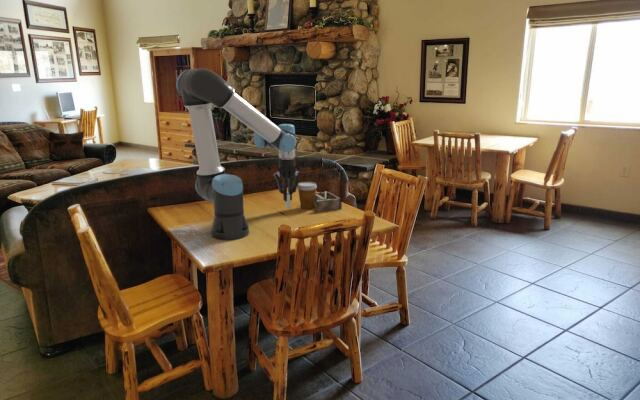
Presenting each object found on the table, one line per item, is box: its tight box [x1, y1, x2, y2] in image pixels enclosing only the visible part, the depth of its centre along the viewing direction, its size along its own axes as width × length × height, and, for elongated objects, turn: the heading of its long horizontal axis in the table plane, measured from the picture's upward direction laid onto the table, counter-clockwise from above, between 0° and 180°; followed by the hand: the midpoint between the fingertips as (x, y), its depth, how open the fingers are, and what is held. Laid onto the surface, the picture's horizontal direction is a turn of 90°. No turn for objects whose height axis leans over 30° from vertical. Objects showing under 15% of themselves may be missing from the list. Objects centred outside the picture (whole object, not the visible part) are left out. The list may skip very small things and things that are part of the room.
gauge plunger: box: [314, 190, 327, 206], centre depth 220 cm, size 6×11×9 cm, turn 22°
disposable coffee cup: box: [296, 181, 318, 211], centre depth 217 cm, size 10×10×12 cm
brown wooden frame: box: [315, 191, 343, 213], centre depth 220 cm, size 12×16×5 cm
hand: (287, 207), depth 214 cm, fingers closed
